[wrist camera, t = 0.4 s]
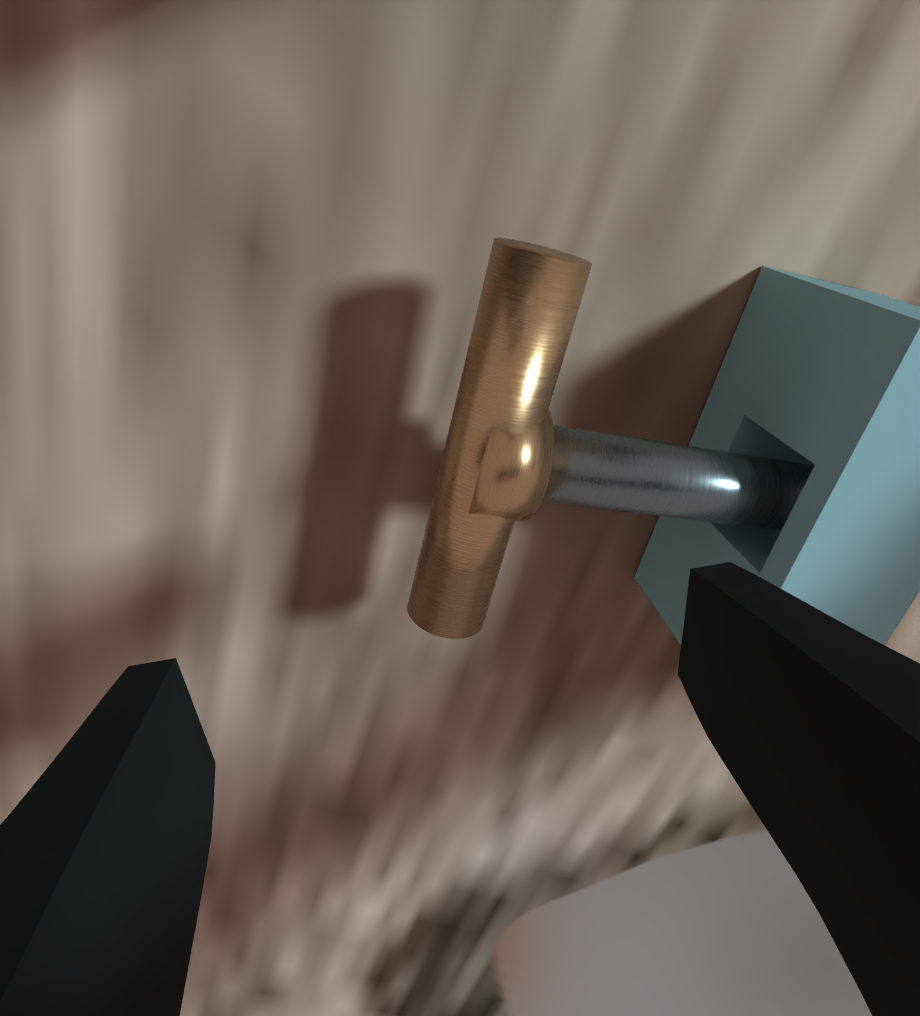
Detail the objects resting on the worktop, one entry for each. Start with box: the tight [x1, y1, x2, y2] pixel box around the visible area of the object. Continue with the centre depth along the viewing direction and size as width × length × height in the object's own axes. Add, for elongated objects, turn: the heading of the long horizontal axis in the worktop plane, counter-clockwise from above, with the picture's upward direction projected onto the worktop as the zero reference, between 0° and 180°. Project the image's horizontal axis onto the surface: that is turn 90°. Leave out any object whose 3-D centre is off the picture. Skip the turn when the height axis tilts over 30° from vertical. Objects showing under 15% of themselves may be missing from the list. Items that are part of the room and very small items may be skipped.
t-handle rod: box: [407, 238, 815, 639], centre depth 17 cm, size 14×9×3 cm, turn 77°
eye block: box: [634, 266, 920, 645], centre depth 19 cm, size 4×10×6 cm, turn 167°
